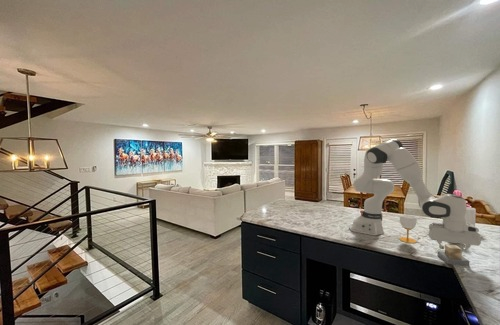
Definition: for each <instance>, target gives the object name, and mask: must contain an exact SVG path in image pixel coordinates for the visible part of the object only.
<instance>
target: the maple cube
mask: <svg viewBox="0 0 500 325" xmlns="http://www.w3.org/2000/svg"><path fill="white" fill-rule="evenodd" d="M444 252H445V254H446V255H447V256H448V257H450V258H457V259H462V254H463V251H462V248H460V246H458V245H455V244H444Z"/></svg>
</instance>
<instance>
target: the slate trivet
mask: <svg viewBox="0 0 500 325" xmlns="http://www.w3.org/2000/svg"><path fill="white" fill-rule="evenodd" d="M437 256H438V257H439V258H440V259H441V260H443V261H444V262H445V263H446V264H447V265H456V266H469V267H470V260H469V259H467V258H466V257H464V256H462V259H457V258H450V257H448V256H447V255H446V254H445V251H443V250H437Z"/></svg>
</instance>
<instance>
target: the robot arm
mask: <svg viewBox="0 0 500 325" xmlns="http://www.w3.org/2000/svg"><path fill="white" fill-rule="evenodd" d="M387 162H389V163H391V164H392V166H393V168H394V170H395V171H396V172H397V174H398V175H399V176H400V178H401V179H402V180H404V181H405V182H406V183H408V184H409V185H410V186H411V189H412V190H413V191H414V192H415V194H416V196H417V199H418V201H417V202H418V207H419V208H420V209H421V210H422V212H423V213H424V214H425V216H428V217H429V218H442V223H436V222H432V223H430V224H429V225H428V229H429V230H428V231H429V232H428V237H429V239H431V241H436V243H437V244H438V248H439V249H440V250H445V245H443V244H442V243H443V242H444V243H452V244H453V243H454V244H462V245H465V246H464V247H462V248H461V249H462V253H468V250H469V249H470V248H471V247H472V246H480V245H481V244H482V243H481V242H482V238H481V235H480V233H479V230H480V229H479V227H477V226H476V225H475V226H473V225H471V224H469V223H466V219H465V215H466V207H467V202H466V199H465V198H463V197H462V196H460V195H457V194H453V193H452V194H451V193H446V194H444V195H441V196H438V197H437V196H435V195H433V194H432V193H431V192H430V191H429V189H428V187H427V185H426V184H425V183H424V180H423V171H422V168H421V166H420V164H419V162H418V160H417V159H416V158H415V156H414V155H413V154H412V153H411V152H410V151H409V149H407V148H405V147H404V145H403V143H402V141H400V140H399V139H397V138H391V139H388V140H385V141H383V142H380V143H378V144H377V145H375V146H373V147H371V148H368V149H367V150H366V151H365V153H364V159H363V172H362V173H361V175H360V177H358V178H356V179H355V180H354V181H353V183H352V186H353V189H354V190H355V192H359V193H364V194H373V196H371V197H369V198H366V199H365V200H364V202H363V205H364V206H363V208H364V209H363V210H362V209H360V211H359V212H360V216H358V217H356V218H354V219H353V221H352V223H351V224H350V225H349V227H348V228H349V230H350V231H351V232H354V233H358V234H365V235H370V236H378V235H383V234H384V233H385V231H384V228H383V227H384V226H383V222H382V221H383V213H382V209H383V202H384V200H385V199H386V198H387V197H388V196H389V195H390V194H392V193H393V192H394V190H395V184H394V181H392V180H390V179H386V178H378V177H380V176H382V174H383V164H386V163H387Z"/></svg>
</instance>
